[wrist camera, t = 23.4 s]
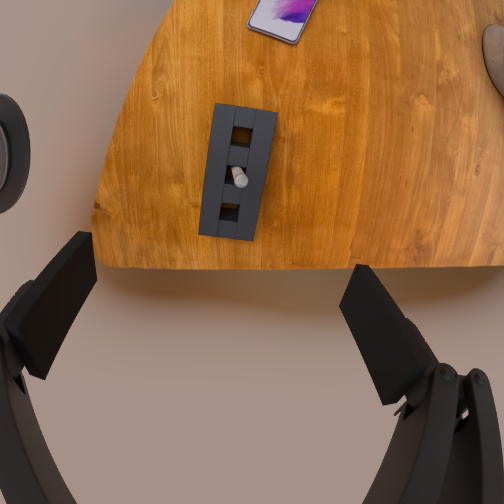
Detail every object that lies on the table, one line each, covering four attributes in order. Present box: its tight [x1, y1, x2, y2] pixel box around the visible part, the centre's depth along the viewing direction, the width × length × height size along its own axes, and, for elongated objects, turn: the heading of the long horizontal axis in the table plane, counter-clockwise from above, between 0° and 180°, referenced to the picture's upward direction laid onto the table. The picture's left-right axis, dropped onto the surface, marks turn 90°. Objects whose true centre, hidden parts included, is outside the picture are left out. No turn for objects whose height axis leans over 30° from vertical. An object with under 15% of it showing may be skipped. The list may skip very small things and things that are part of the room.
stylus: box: [231, 166, 248, 188], centre depth 31 cm, size 1×1×15 cm
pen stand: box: [198, 103, 278, 241], centre depth 36 cm, size 7×17×5 cm, turn 170°
